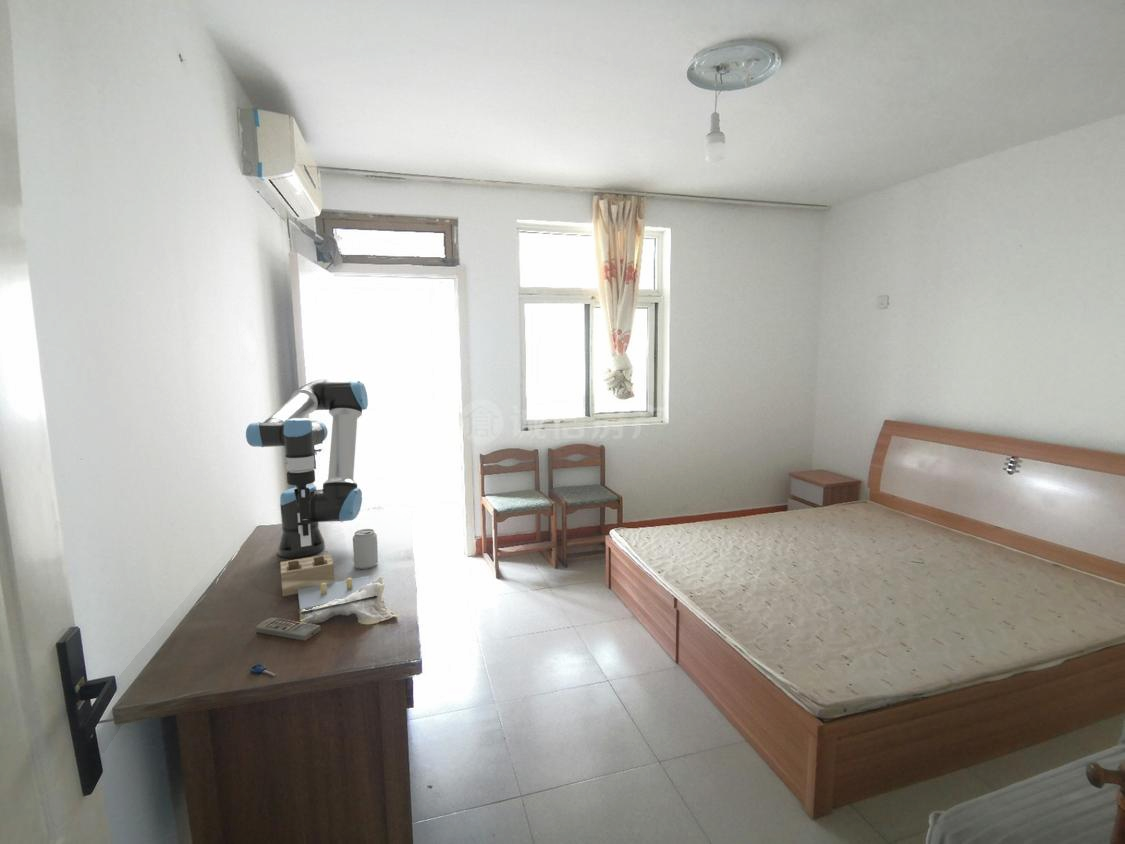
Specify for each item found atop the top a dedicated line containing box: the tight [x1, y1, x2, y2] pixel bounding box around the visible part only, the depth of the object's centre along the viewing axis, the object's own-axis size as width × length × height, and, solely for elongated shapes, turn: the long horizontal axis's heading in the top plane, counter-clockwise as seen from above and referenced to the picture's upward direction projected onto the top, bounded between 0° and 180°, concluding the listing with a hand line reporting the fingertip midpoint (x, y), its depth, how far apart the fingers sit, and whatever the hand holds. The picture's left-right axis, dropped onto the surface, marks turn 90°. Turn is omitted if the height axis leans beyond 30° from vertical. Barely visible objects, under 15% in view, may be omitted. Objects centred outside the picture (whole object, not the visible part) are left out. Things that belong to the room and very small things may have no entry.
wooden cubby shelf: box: [280, 553, 335, 597], centre depth 159 cm, size 10×14×7 cm
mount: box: [297, 575, 373, 613], centre depth 152 cm, size 14×20×4 cm
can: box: [352, 528, 379, 570], centre depth 173 cm, size 8×8×12 cm
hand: (304, 539), depth 157 cm, fingers open, 13 cm apart
